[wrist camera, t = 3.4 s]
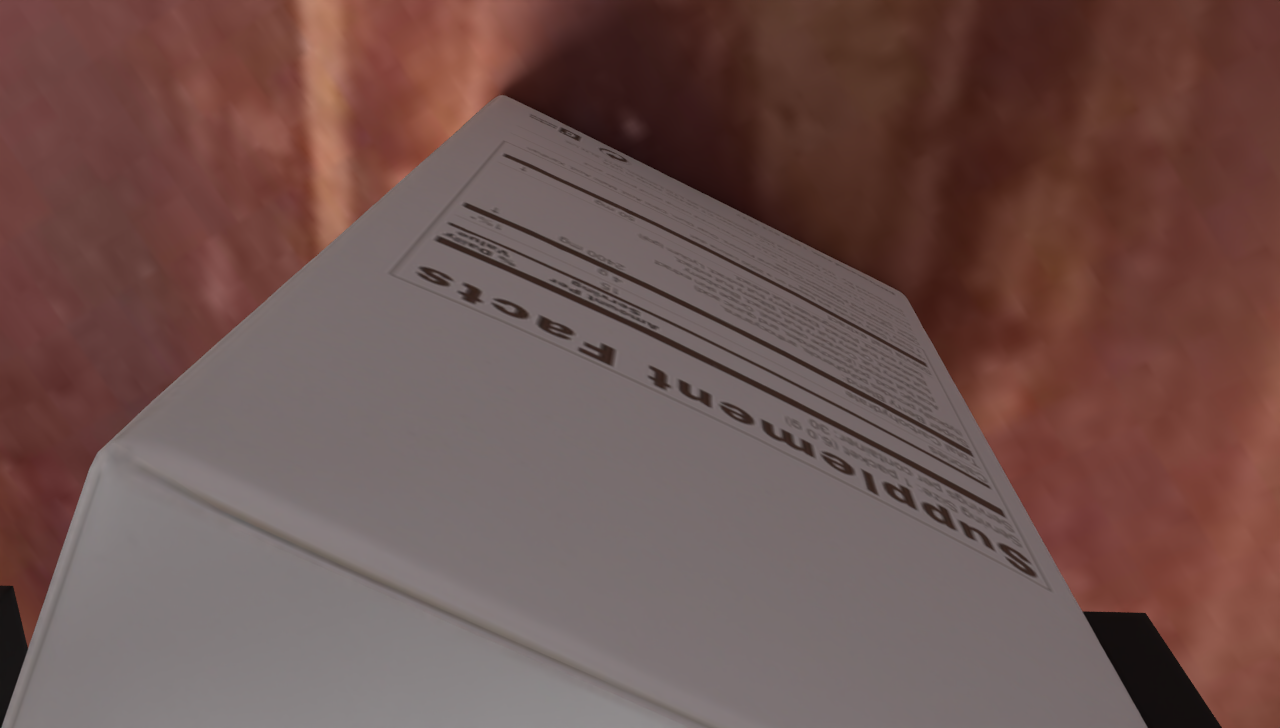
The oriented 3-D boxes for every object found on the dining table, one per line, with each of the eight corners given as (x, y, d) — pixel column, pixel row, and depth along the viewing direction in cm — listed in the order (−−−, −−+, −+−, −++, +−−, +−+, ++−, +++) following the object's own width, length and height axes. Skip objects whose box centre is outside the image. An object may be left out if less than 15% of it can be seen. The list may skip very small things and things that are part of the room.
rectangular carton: (703, 643, 25) (708, 1599, 11) (322, 471, 23) (-228, 1291, 10) (927, 294, 21) (1354, 1013, 7) (498, 73, 20) (52, 439, 6)
